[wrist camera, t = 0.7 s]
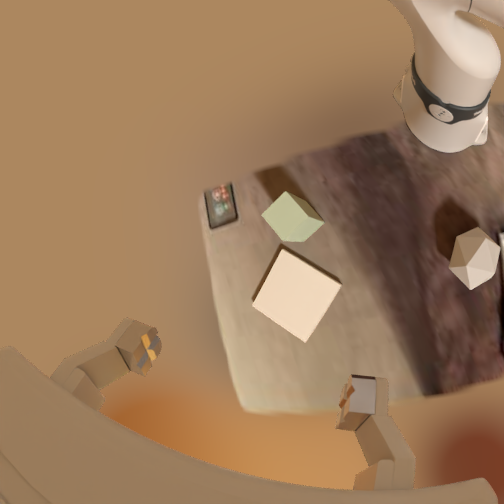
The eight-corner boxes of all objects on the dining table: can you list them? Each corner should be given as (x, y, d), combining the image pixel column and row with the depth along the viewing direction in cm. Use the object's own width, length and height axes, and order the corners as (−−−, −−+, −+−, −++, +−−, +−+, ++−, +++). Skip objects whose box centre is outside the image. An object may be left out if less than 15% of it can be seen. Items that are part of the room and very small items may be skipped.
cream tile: (284, 248, 50) (282, 248, 48) (342, 284, 45) (341, 285, 44) (255, 304, 52) (252, 305, 51) (307, 340, 48) (305, 342, 47)
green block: (306, 201, 48) (285, 190, 39) (324, 222, 46) (308, 216, 37) (285, 220, 49) (261, 214, 40) (303, 241, 48) (282, 240, 39)
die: (438, 275, 38) (472, 308, 29) (438, 227, 34) (479, 255, 25) (471, 259, 37) (506, 286, 28) (473, 213, 33) (513, 236, 25)
